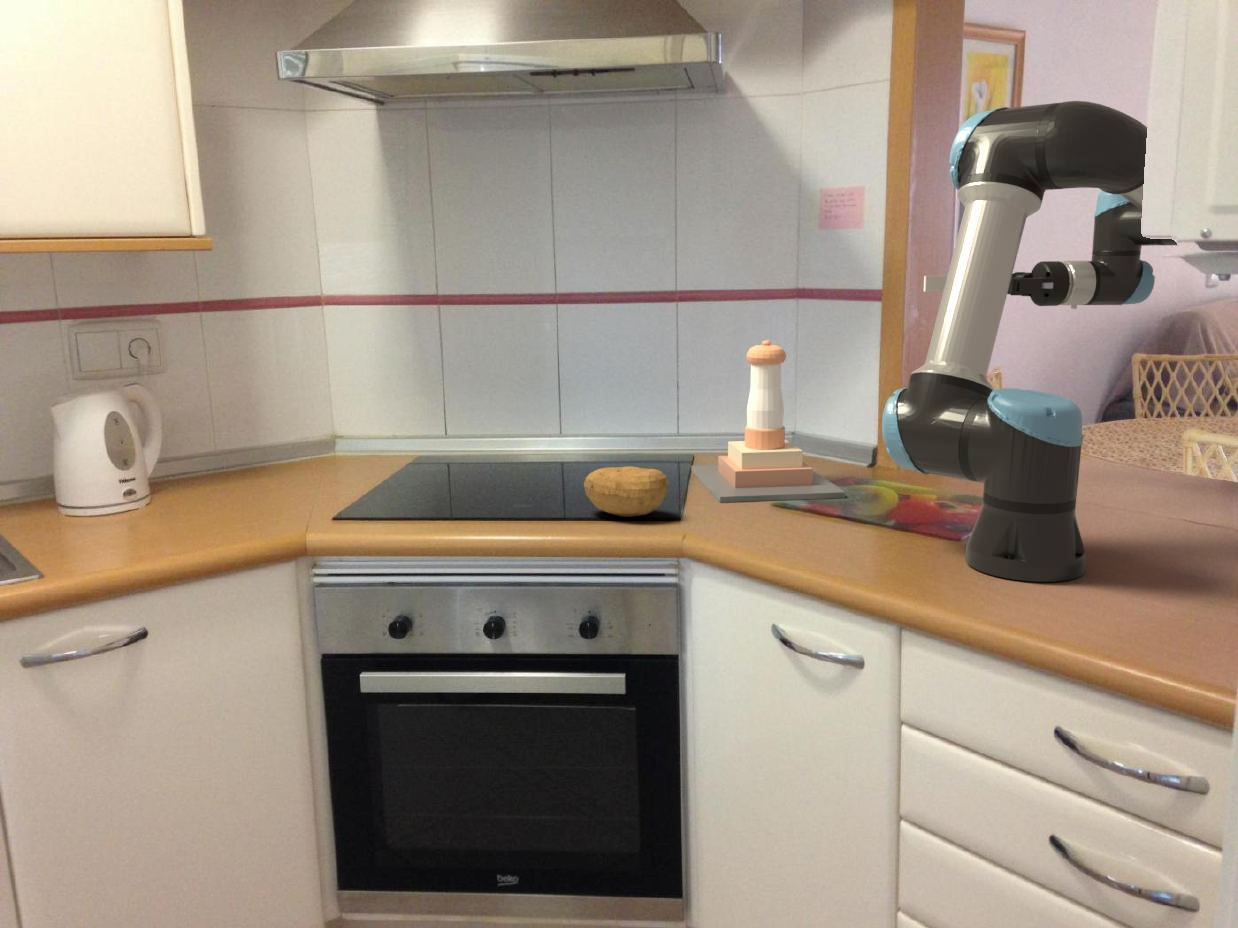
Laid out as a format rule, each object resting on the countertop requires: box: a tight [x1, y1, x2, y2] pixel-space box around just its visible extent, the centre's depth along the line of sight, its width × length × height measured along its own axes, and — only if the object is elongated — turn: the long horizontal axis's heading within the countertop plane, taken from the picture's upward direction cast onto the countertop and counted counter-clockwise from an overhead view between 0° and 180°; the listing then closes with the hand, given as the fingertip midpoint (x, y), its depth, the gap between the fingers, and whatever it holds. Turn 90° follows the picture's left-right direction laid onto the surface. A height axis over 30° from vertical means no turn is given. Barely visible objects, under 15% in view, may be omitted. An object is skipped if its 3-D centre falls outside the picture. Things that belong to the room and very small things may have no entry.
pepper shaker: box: [744, 339, 787, 450], centre depth 187 cm, size 7×7×19 cm
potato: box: [583, 465, 669, 518], centre depth 168 cm, size 10×14×8 cm
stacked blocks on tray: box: [691, 439, 846, 504], centre depth 190 cm, size 26×22×7 cm
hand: (940, 285), depth 175 cm, fingers open, 13 cm apart
